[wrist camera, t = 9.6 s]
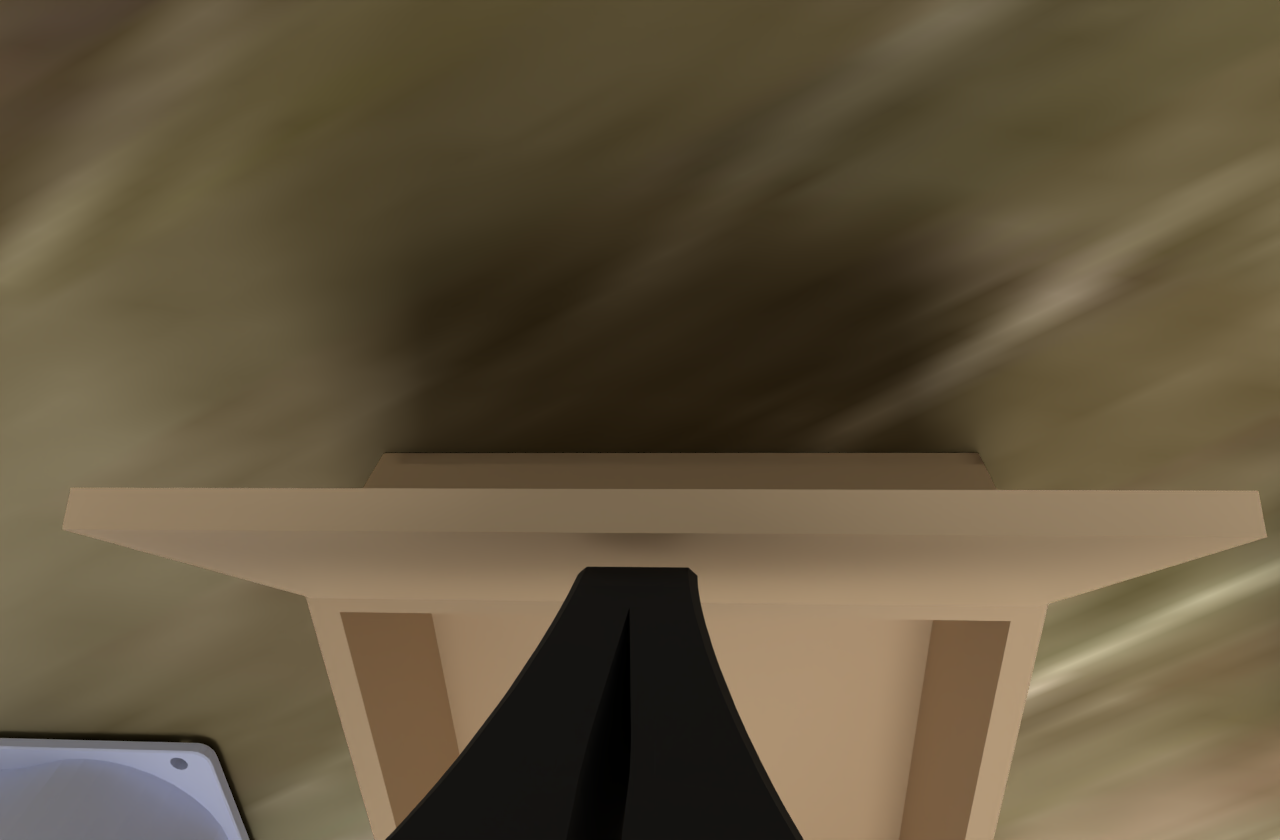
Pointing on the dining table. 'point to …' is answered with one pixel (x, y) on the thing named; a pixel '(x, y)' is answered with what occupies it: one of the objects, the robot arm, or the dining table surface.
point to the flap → (676, 539)
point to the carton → (744, 647)
